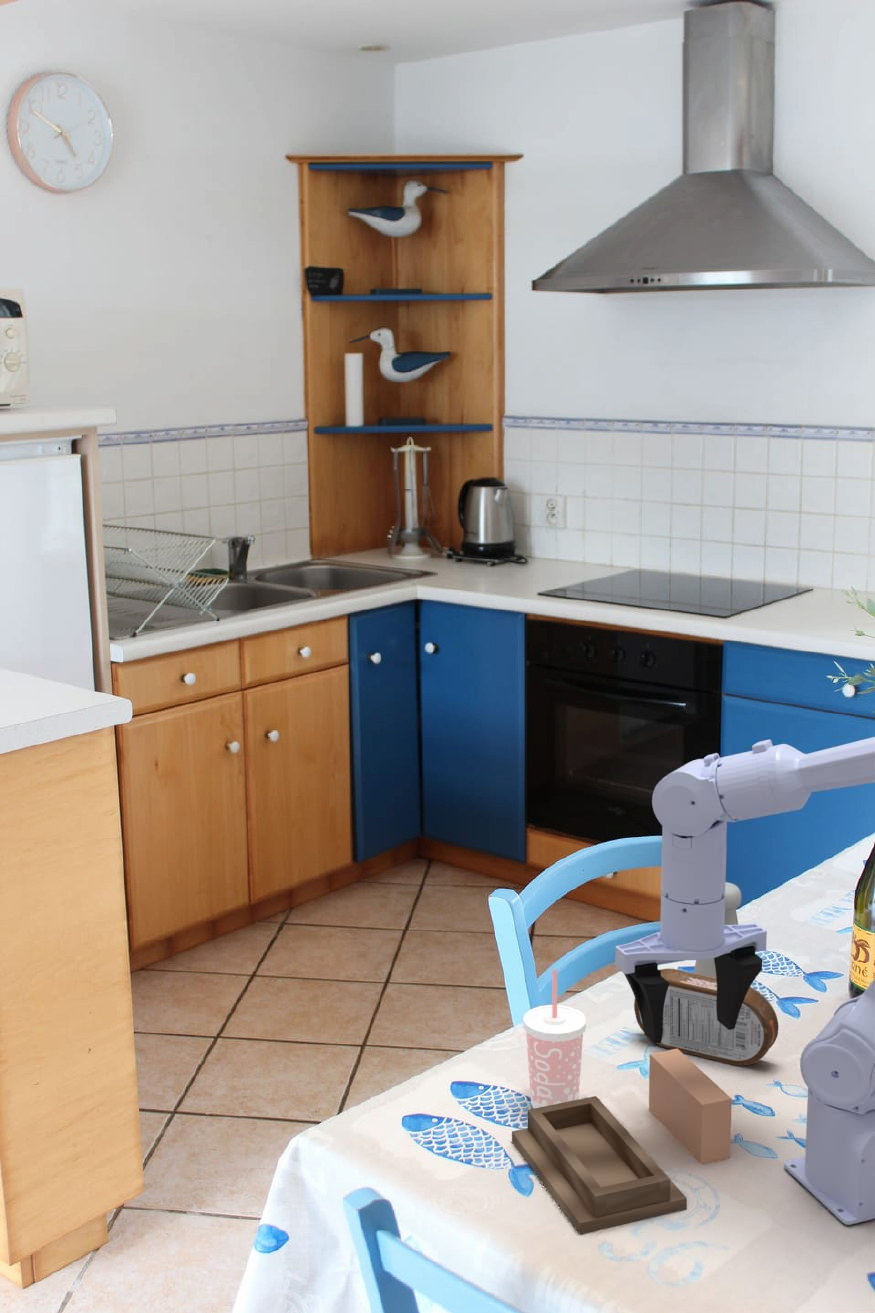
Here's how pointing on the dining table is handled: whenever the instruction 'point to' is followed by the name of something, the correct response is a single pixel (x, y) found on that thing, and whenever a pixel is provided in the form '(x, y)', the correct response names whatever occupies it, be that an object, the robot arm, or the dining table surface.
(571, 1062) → the beverage cup
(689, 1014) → the tin
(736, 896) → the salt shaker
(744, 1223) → the dining table surface
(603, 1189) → the tray
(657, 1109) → the tan rectangular block
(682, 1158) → the dining table surface
